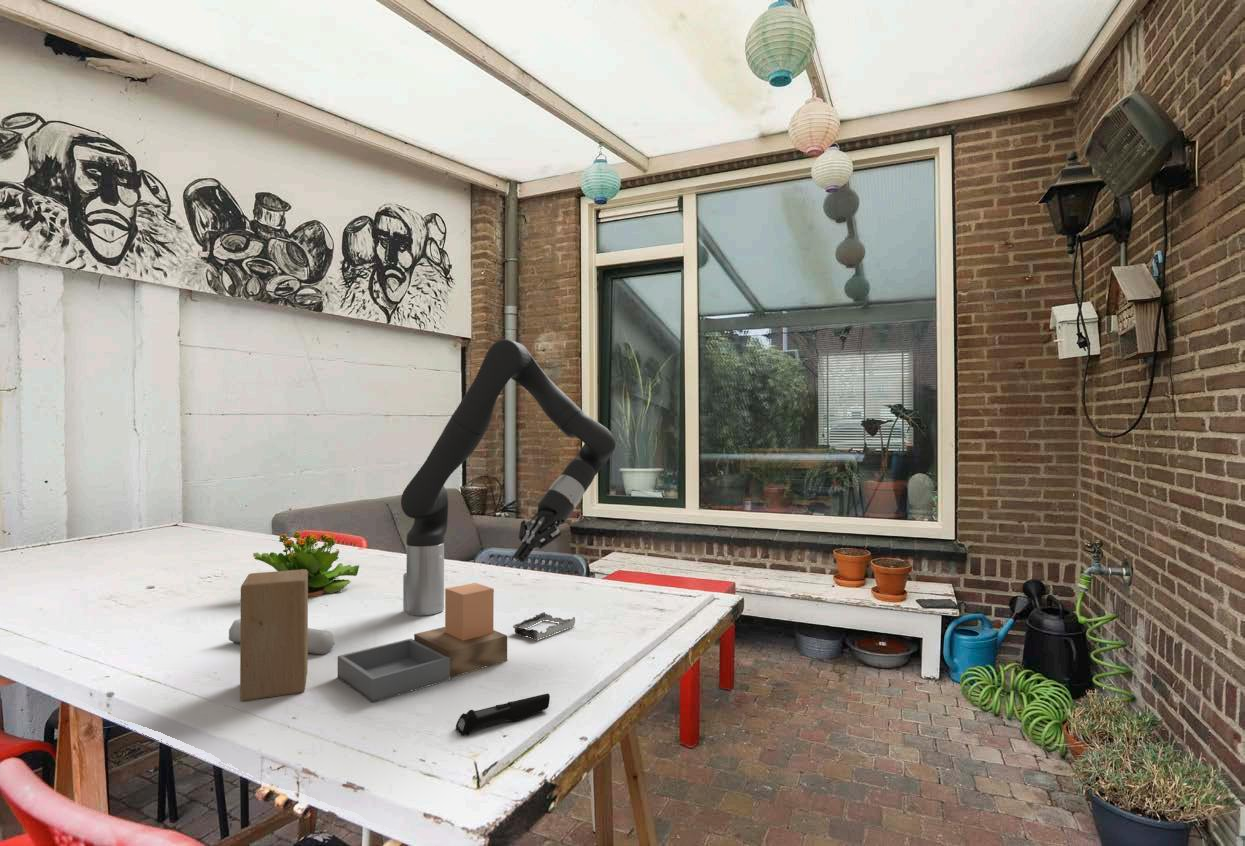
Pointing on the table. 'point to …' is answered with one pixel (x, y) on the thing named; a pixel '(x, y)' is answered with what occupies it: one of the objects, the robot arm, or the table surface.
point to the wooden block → (273, 634)
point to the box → (393, 669)
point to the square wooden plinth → (466, 649)
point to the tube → (316, 638)
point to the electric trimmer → (501, 713)
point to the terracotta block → (469, 611)
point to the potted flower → (311, 562)
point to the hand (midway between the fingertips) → (517, 559)
